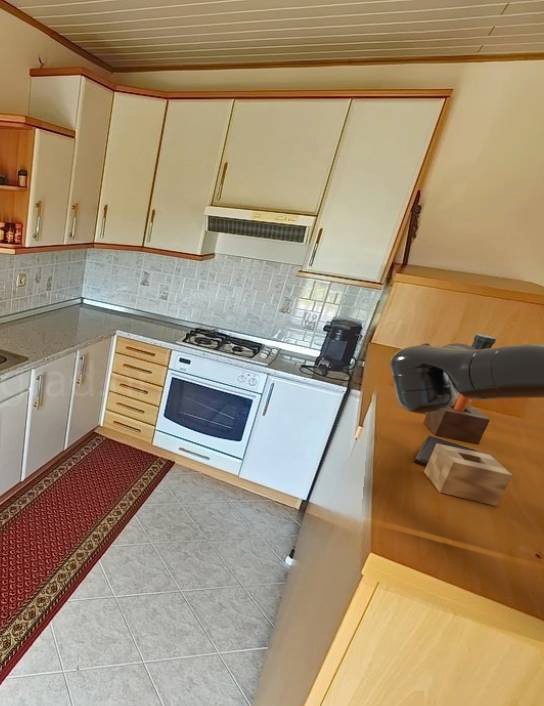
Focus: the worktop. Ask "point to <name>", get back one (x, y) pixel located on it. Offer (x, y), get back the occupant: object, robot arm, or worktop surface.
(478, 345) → the sauce bottle
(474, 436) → the block
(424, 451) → the tablet
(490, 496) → the stand
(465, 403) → the orange rod
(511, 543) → the worktop surface
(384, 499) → the worktop surface
